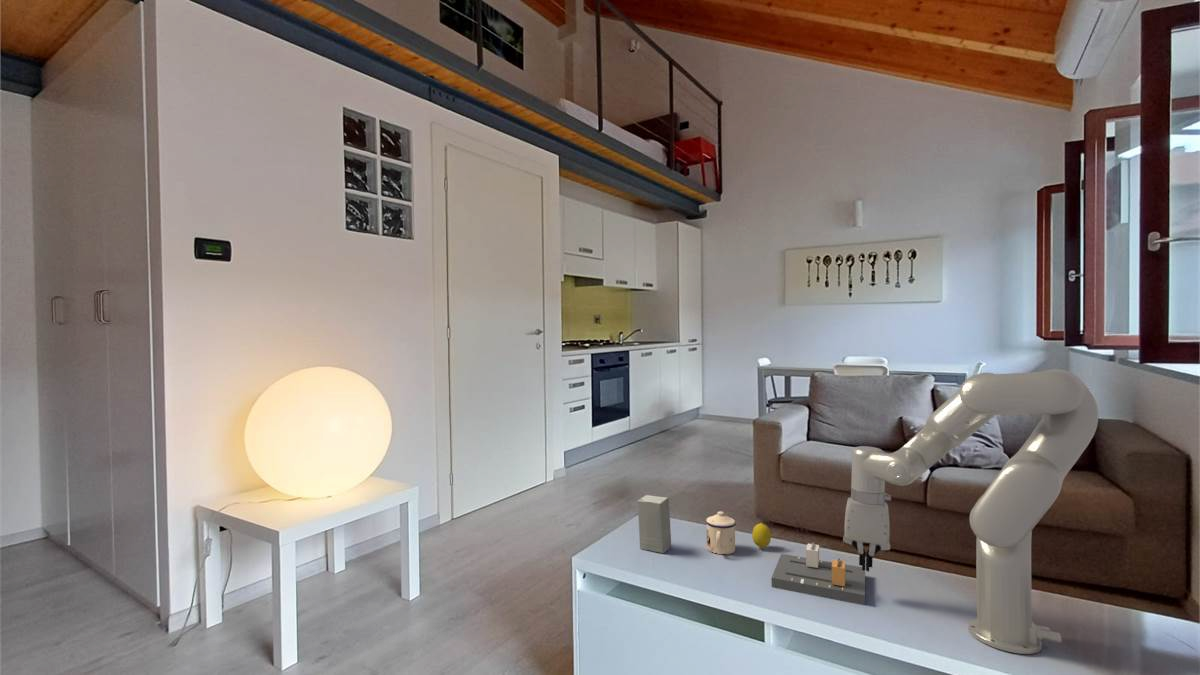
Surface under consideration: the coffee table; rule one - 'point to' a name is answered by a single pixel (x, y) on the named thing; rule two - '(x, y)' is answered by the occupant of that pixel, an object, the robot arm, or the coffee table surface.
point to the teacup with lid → (720, 534)
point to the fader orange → (838, 572)
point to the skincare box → (654, 523)
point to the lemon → (761, 535)
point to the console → (818, 579)
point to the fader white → (812, 555)
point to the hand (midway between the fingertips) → (865, 568)
